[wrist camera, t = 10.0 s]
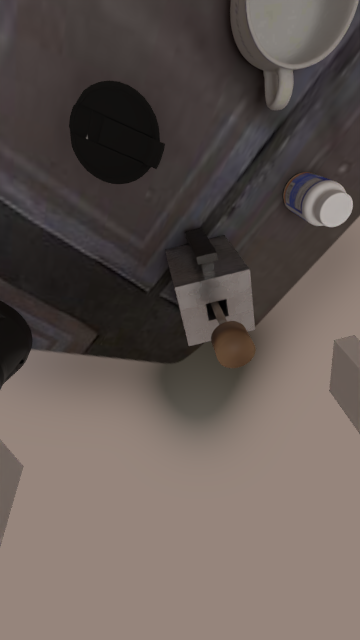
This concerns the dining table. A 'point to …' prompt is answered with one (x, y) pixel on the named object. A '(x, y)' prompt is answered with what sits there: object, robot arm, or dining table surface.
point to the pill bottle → (317, 199)
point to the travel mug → (115, 133)
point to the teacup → (287, 37)
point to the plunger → (231, 341)
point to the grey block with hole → (209, 284)
